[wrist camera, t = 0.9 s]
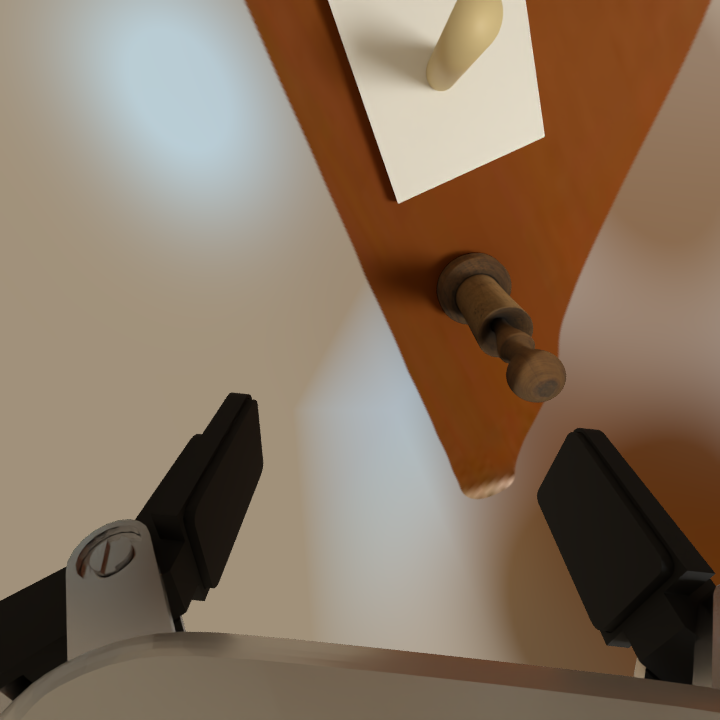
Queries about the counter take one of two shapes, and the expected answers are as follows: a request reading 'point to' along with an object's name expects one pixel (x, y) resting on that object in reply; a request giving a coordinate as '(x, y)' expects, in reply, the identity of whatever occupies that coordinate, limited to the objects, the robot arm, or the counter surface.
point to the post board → (432, 116)
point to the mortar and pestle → (499, 324)
